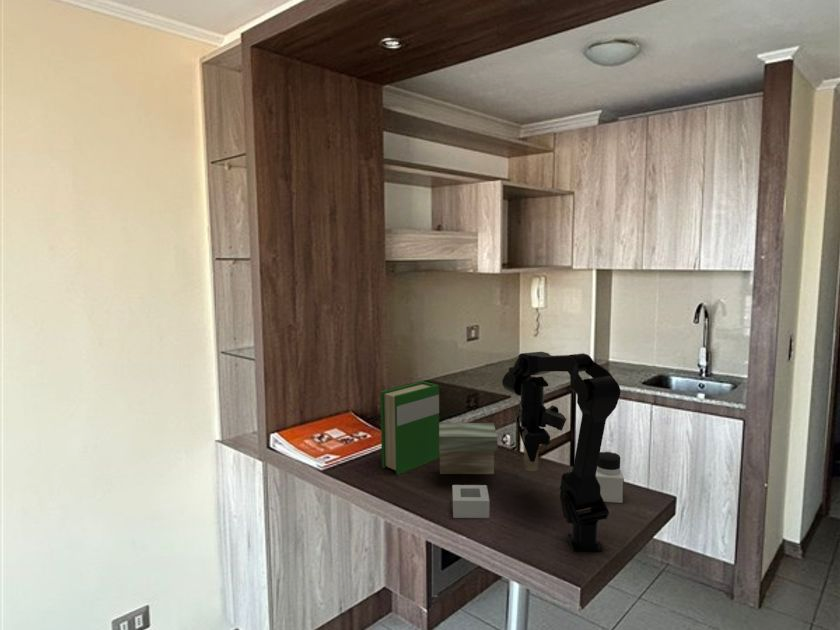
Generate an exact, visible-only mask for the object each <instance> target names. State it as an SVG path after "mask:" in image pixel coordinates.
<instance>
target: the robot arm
mask: <svg viewBox="0 0 840 630" xmlns="http://www.w3.org/2000/svg"><path fill="white" fill-rule="evenodd" d="M517 357H518V358H517V359H516V361H515V363H514V365H513V366H511V367H508V372H506V373H505V375H504V376H503V379H502V383H501V384H502V387H503V388H504V389H505V390H506V391H508V392H509V393H510V392H511V393H512V394H514V395H517V396H520V401H519V404H518V405H519V408H520V410H518V411H517V412H515V414H514V415H515V416H514V417H515V418H514V419H515V421H514V422H515V424H517V429H518V433H519V436H520V438H521V441H522V443H523V446H525V449H526V451H527V454H528V457H529V460H530V462H534V461H535V458H536V455H537V451H538V452H539V448H540V446H543V445H546V446H547V445H548V446H549V445H551V435H550V433H549V432H548V431H547V430H546V429H545V428H547V426H548V427H549V426H550V427H552V428H555V429H557V430H558V431H563V429H564V427H565V423H566V421H567V418H566V417H565V415H564V414H562V412H559V408H558V407H557V406H556V405H550V406H549V407H548V408H547V407H546V406H545V405H544V393H545V392H544V391H545V390H544V389H545V388H546V387H549V383H548V381H547V380H545V378H544V376H539V375H543V374H547V373H551V372H566V373H568V374H569V376H570V377H569V379H570V381H569V382H570V387H571V388H572V390H573V391H574V393H575V394H576V395H577V396H576V397H577V398H576V403H577V405H578V407H579V410H580V411H581V420H580V426H579V430H578V431H579V432H578V438H577V444H576V449H575V454H574V461H573V466H572V470H571V471H570V472H565V473H562V475H561V481H560V482H561V483H560V486H559V487H558V488H559V490H560V494H559V499H560V504H561V511H562V516H563V518H564V519H565V520H566V523H568V524H571V533H567V534H566V535H567V536H566V538H567V539H568V541H569V542H568V543H569V544H570V547H571V549H572V551H574V552H603V550H604V549H603V546H602V544H601V543H600V540H599V521H601V520H607V519H608V517H609V515H610V511H609V509H608V507H607V505H606V502H604V501H603V498H602V496H601V494H600V488H601V487H600V484H599V482H598V480H597V478H596V471H597V465H598V460H599V454H600V452H601V449H602V448H601V447H602V443H603V436H604V431H605V426H606V421H607V419H608V418H609V416H610V415H612V413H613V411H615V409H616V408H617V405H618V403H619V399H620V397H621V387H620V385H619V383H618V381H616V379H615V378H614V377H613V375H612V374H611V373H610V372H609V370H608V369H606V368H604V367H603V366H602V365H600V364H598V363H597V362H595V361H594V360H593V359H592V357H591V356H590V355H589V354H587V353H583V352H582V353H574V354H573V353H572V354H566V355H565V354H564V355H563V354H562V355H561V354H560V355H551V354H550V353H549V352H545V351H535V352H525V353H519V354H518V356H517ZM583 372H585V373H586V375H588V376H589V378H584V379H583V378H582V377H581V375H580V373H583ZM537 375H538V376H537ZM590 377H591V378H590ZM519 423H520V425H518V424H519Z"/></svg>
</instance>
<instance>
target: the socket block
mask: <svg viewBox="0 0 840 630" xmlns="http://www.w3.org/2000/svg"><path fill="white" fill-rule="evenodd" d="M452 518H453V519H490V496H489V491H488V485H486V484H483V485H482V484H464V485H463V484H452Z"/></svg>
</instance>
